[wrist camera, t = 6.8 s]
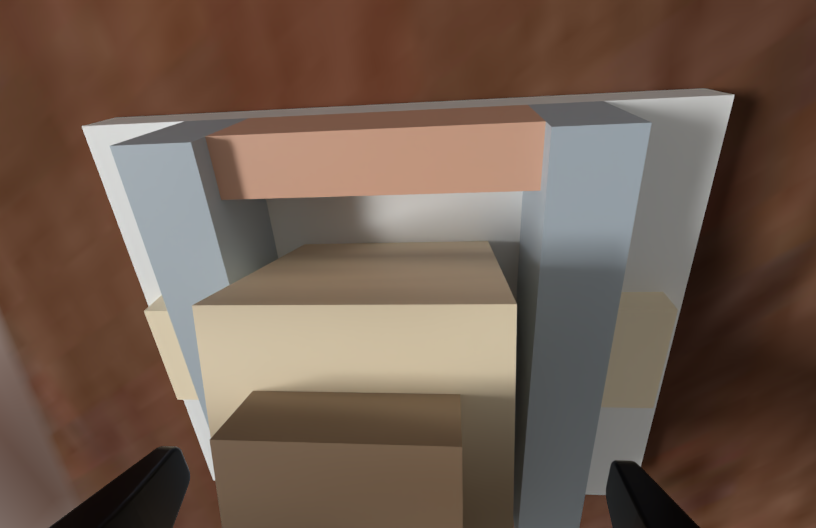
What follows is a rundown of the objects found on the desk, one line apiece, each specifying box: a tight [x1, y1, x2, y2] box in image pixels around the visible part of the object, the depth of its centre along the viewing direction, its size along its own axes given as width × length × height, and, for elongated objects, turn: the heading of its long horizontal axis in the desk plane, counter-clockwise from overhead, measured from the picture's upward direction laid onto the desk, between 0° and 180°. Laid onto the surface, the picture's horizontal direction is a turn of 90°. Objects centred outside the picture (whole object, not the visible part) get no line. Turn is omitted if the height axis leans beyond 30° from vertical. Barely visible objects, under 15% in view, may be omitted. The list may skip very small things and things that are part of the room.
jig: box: [82, 88, 735, 528], centre depth 12 cm, size 12×14×4 cm
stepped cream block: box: [192, 241, 517, 528], centre depth 9 cm, size 8×4×6 cm, turn 4°
